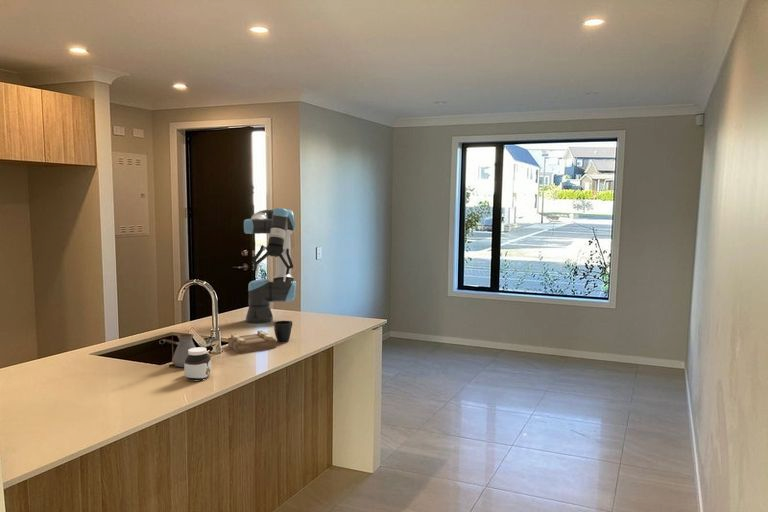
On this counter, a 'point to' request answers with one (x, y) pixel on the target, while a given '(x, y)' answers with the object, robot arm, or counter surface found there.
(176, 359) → the coffee pot
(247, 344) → the brown piece
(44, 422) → the counter surface
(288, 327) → the mug
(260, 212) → the robot arm
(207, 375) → the spread jar
